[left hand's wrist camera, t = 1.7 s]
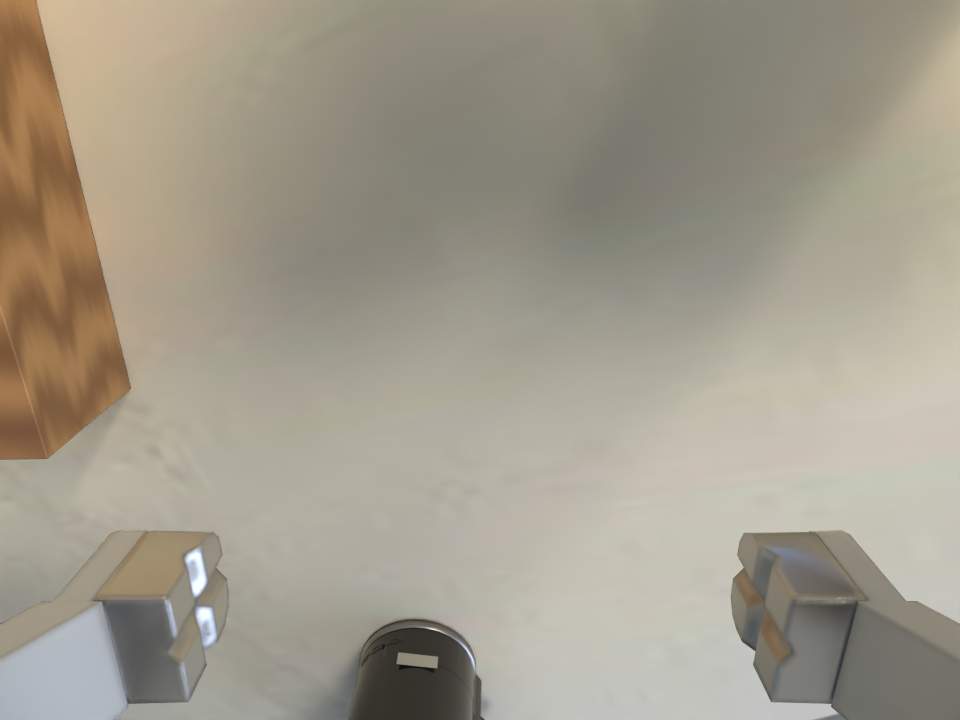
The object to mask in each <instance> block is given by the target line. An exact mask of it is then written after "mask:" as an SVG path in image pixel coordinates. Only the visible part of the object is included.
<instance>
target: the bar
mask: <svg viewBox="0 0 960 720" xmlns="http://www.w3.org/2000/svg"><path fill="white" fill-rule="evenodd" d="M130 389H131V387H130V383H129V379H128V375H127V371H126V367H125V363H124V359H123V355H122V351H121V346H120V342H119V338H118V334H117V330H116V326H115V322H114V318H113V314H112V310H111V306H110V302H109V298H108V294H107V290H106V285H105V281H104V277H103V273H102V269H101V265H100V261H99V257H98V253H97V249H96V245H95V241H94V237H93V233H92V229H91V224H90V220H89V216H88V212H87V208H86V204H85V200H84V196H83V192H82V188H81V184H80V180H79V176H78V172H77V168H76V163H75V159H74V155H73V151H72V147H71V143H70V139H69V135H68V131H67V127H66V123H65V119H64V115H63V111H62V107H61V102H60V98H59V94H58V90H57V86H56V82H55V78H54V74H53V70H52V66H51V62H50V58H49V54H48V50H47V46H46V41H45V37H44V33H43V29H42V25H41V21H40V17H39V13H38V9H37V5H36V1H35V0H0V460H9V459H47V458H49V457H50V456H51V455H52V454H54V453H55V452H56V451H57V450H58V449H60V448H61V447H62V446H63V445H64V444H66V443H67V442H68V441H69V440H70V439H71V438H73V437H74V436H75V435H76V434H77V433H79V432H80V431H81V430H82V429H83V428H85V427H86V426H87V425H88V424H89V423H91V422H92V421H93V420H94V419H95V418H96V417H98V416H99V415H100V414H101V413H102V412H104V411H105V410H106V409H107V408H108V407H110V406H111V405H112V404H113V403H114V402H116V401H117V400H118V399H119V398H120V397H121V396H123V395H124V394H125V393H126V392H127V391H129V390H130Z"/></svg>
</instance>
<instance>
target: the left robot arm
mask: <svg viewBox="0 0 960 720" xmlns="http://www.w3.org/2000/svg"><path fill="white" fill-rule="evenodd" d="M737 556H738V557H739V559H740V561H741V563H742V565H743V567H744V568H743V569H742V570H741V571H740V572H739V573H738V574H737V575H736V576H735V577H734V578H733V583H732V591H731V605H732V615H733V619H734V623H735V626H736V629H737V631H738V634H739V636H740V638H741V640H742V642H743V643H745V644H746V645H748V646H749V647H750V648H752V649H753V650H754V651H756V652H755V658H754V663H753V666H754V668H755V670H756V672H757V674H758V676H759V678H760V680H761V682H762V684H763V686H764V688H765V690H766V692H767V694H768V696H769V699H770V701H771V702H788V703H824V704H832V705H831V707H832V708H833V709H834V710H836V711H837V712H838V713H839V714H840V715H841V716H843V717H844V718H845V719H846V720H960V624H959V623H957V622H955V621H953V620H951V619H950V618H948V617H946V616H944V615H942V614H940V613H938V612H936V611H934V610H933V609H931V608H929V607H927V606H925V605H923V604H921V603H919V602H917V601H906V600H905V599H904V598H903V597H902V595H901V594H900V593H899V592H898V591H897V590H896V588H895V587H894V586H893V585H892V584H891V582H890V581H889V580H888V579H887V578H886V577H885V575H884V574H883V573H882V572H881V571H880V569H879V568H878V567H877V566H876V565H875V564H874V562H873V561H872V560H871V559H870V558H869V556H868V555H867V554H866V553H865V552H864V550H863V549H862V548H861V547H860V546H859V545H858V543H857V542H856V541H855V540H854V539H853V537H852V536H851V535H850V534H848V533H846V532H844V531H842V530H834V531H809V532H779V533H744V534H743V536H742V538H741V540H740V542H739V548H738V553H737ZM221 557H222V550H221V545H220V540H219V537H218V536H217V535H216V534H215V533H214V532H184V531H117V532H114V533H111V534H110V535H109V536H108V537H107V538H106V539H105V541H104V542H103V543H102V544H101V545H100V546H99V548H98V549H97V550H96V551H95V552H94V554H93V555H92V556H91V557H90V558H89V559H88V561H87V562H86V563H85V564H84V565H83V567H82V568H81V569H80V570H79V571H78V573H77V574H76V575H75V576H74V577H73V578H72V580H71V581H70V582H69V583H68V584H67V586H66V587H65V588H64V589H63V590H62V591H61V593H60V594H59V595H58V596H57V597H56V599H55V600H54V601H42V602H40V603H39V604H37V605H35V606H33V607H31V608H29V609H27V610H25V611H23V612H21V613H19V614H18V615H16V616H14V617H12V618H10V619H8V620H6V621H4V622H2V623H0V720H114V719H115V718H116V717H117V716H119V715H120V714H121V713H122V712H123V711H124V710H126V709H127V708H128V704H136V703H170V702H189V700H190V698H191V696H192V694H193V692H194V690H195V688H196V686H197V684H198V681H199V679H200V677H201V675H202V673H203V671H204V669H205V667H206V659H205V654H204V651H205V650H207V649H208V648H209V647H211V646H212V645H213V644H215V643H216V642H218V640H219V637H220V635H221V633H222V631H223V628H224V626H225V621H226V617H227V612H228V607H229V591H228V584H227V578H226V577H225V576H224V575H223V574H222V573H221V572H219V571H218V570H217V569H216V566H217V564H218V562H219V561H220V559H221Z"/></svg>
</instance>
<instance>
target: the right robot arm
mask: <svg viewBox="0 0 960 720" xmlns="http://www.w3.org/2000/svg"><path fill="white" fill-rule="evenodd" d="M348 720H484V719H483V718H482V717H481V680H480V679H479V678H478V677H477V676H476V662H475V657H474V654H473V652H472V650H471V648H470V646H469V645H468V644H467V642H466V641H465V640H464V639H463V638H462V637H461V636H460V635H458V634H457V633H456V632H454V631H452V630H451V629H449V628H447V627H445V626H442V625H439V624H436V623H432V622H427V621H403V622H398V623H394V624H391V625H389V626H386V627H384V628H383V629H381V630H379V631H378V632H376V633H375V634H374V635H373V636H372V637H371V638H370V639H369V640H368V641H367V643H366V644H365V646H364V648H363V651H362V654H361V658H360V663H359V673H358V677H357V681H356V686H355V690H354V694H353V698H352V702H351V707H350V711H349V716H348Z"/></svg>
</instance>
